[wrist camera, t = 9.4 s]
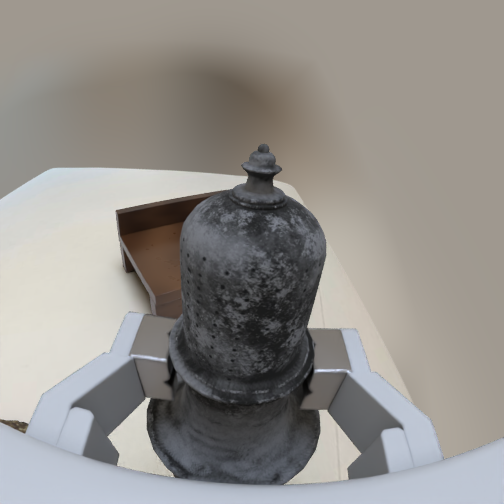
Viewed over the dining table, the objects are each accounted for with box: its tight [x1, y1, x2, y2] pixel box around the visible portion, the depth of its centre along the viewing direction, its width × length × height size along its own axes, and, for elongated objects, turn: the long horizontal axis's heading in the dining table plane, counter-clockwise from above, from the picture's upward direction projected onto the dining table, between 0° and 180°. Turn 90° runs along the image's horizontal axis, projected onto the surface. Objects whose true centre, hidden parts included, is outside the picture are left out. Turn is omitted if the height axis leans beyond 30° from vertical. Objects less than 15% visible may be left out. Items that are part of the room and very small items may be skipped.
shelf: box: [116, 190, 225, 318], centre depth 37 cm, size 16×14×8 cm
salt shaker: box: [147, 144, 326, 485], centre depth 8 cm, size 6×6×12 cm
